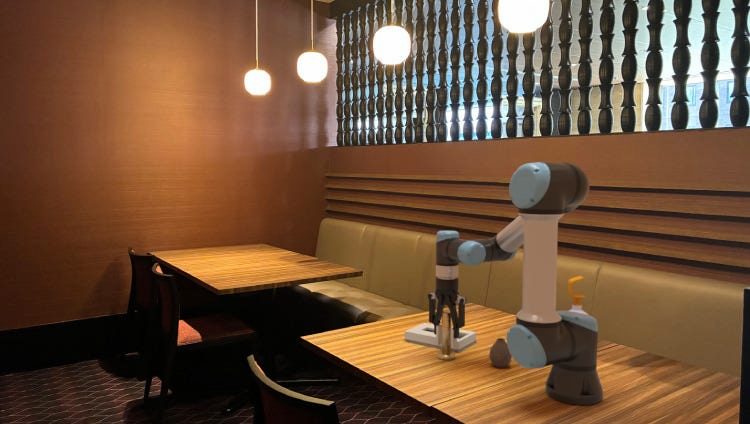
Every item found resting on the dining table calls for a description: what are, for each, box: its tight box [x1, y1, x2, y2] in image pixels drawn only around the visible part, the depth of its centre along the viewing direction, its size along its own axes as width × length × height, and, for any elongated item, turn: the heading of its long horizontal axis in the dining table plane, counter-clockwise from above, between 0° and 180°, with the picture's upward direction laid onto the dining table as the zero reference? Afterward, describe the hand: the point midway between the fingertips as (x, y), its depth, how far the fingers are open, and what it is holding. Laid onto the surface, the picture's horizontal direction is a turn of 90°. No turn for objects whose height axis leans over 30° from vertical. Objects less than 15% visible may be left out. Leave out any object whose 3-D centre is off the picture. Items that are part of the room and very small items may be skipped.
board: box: [404, 322, 477, 353], centre depth 206 cm, size 14×22×4 cm, turn 54°
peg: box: [436, 310, 456, 361], centre depth 188 cm, size 6×6×16 cm
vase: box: [489, 337, 513, 369], centre depth 181 cm, size 7×7×9 cm
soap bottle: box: [567, 275, 589, 315], centre depth 203 cm, size 9×9×25 cm
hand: (446, 345), depth 189 cm, fingers open, 5 cm apart
